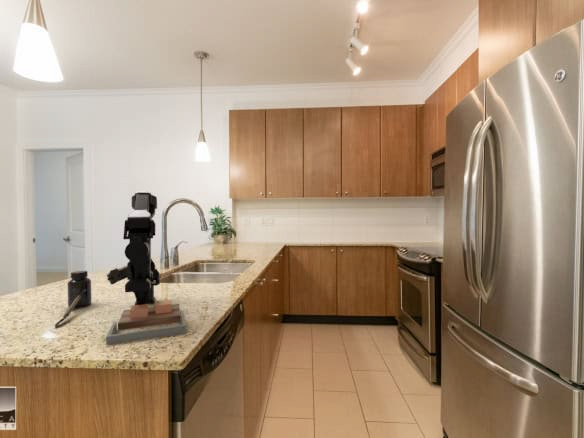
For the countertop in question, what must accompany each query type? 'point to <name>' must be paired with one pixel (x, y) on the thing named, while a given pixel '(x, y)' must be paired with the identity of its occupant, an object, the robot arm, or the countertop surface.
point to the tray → (144, 333)
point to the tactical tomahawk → (71, 307)
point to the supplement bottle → (79, 289)
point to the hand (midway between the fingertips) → (140, 308)
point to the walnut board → (149, 318)
